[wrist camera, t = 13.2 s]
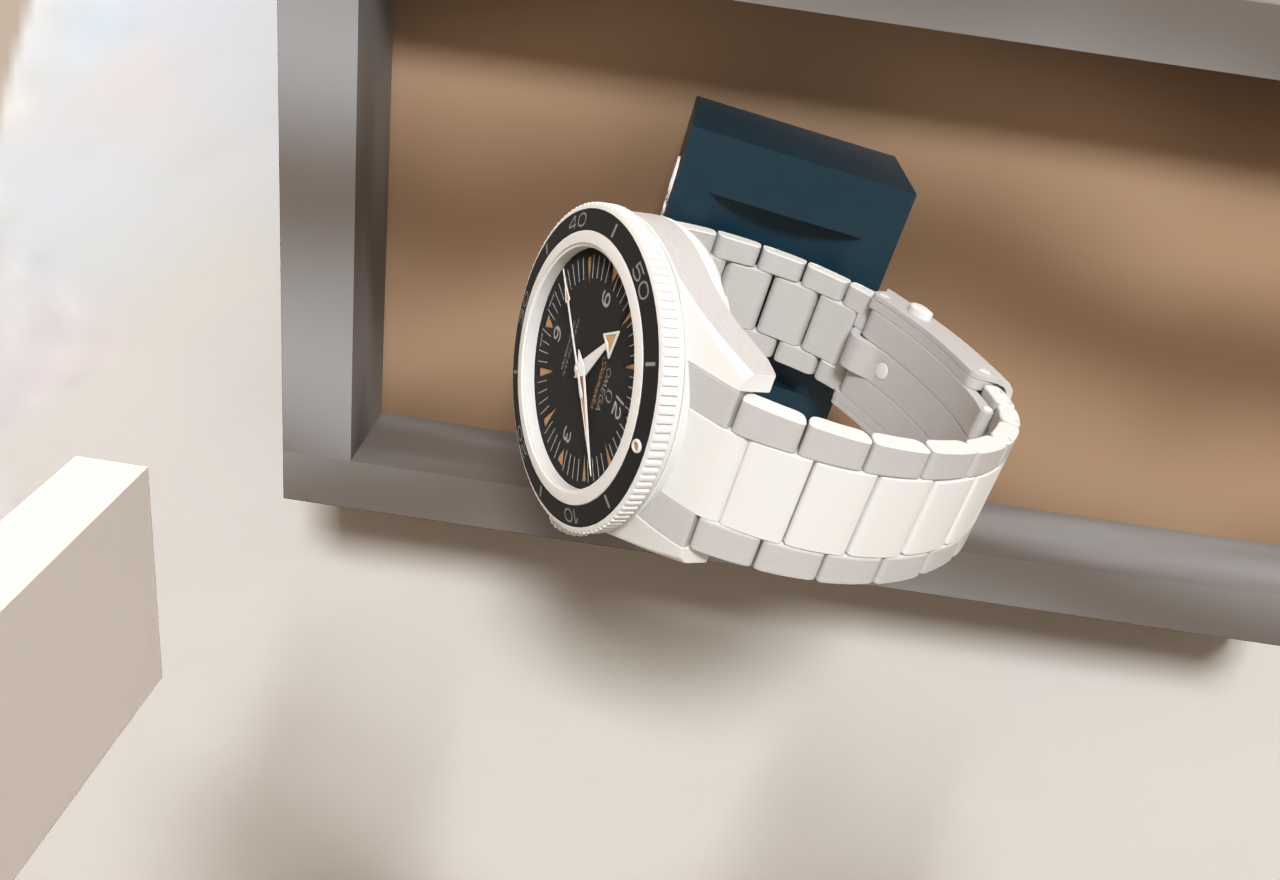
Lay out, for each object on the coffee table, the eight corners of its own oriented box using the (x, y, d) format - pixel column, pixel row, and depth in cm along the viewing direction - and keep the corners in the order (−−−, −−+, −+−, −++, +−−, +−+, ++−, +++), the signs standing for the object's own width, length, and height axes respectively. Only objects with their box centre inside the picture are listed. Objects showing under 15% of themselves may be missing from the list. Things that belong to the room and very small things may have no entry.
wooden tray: (1247, 608, 30) (1317, 709, 26) (337, 474, 30) (284, 555, 26) (1544, -52, 23) (1697, -37, 19) (345, -227, 23) (273, -245, 19)
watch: (605, 67, 24) (516, 211, 14) (975, 180, 24) (1145, 397, 14) (541, 313, 26) (426, 585, 16) (876, 412, 27) (964, 732, 17)
